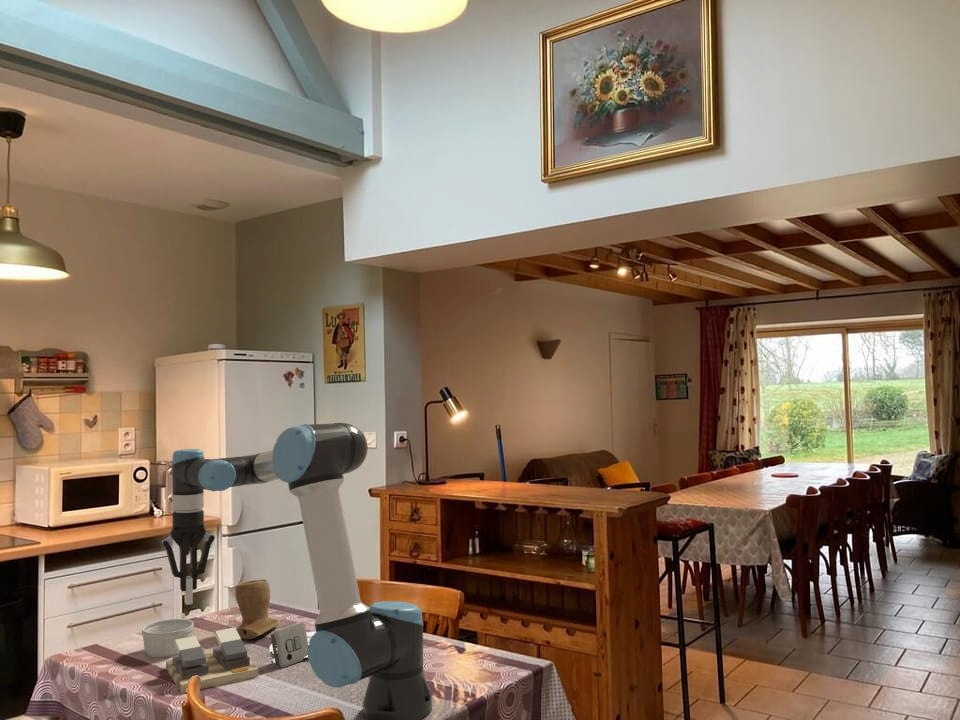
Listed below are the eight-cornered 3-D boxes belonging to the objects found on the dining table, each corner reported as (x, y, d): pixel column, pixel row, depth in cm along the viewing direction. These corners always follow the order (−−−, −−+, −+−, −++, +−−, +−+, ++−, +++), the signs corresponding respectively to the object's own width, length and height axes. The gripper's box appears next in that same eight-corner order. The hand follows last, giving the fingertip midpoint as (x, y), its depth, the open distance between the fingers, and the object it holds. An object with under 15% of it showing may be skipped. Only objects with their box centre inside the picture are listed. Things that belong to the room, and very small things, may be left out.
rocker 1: (205, 666, 191) (206, 657, 190) (184, 670, 188) (184, 661, 188) (195, 644, 201) (195, 636, 201) (174, 648, 198) (175, 639, 198)
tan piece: (249, 623, 237) (248, 574, 238) (284, 625, 234) (284, 575, 235) (221, 639, 222) (220, 586, 223) (258, 642, 220) (257, 588, 220)
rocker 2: (246, 659, 196) (247, 651, 196) (226, 663, 193) (226, 655, 193) (234, 635, 206) (235, 627, 206) (215, 639, 203) (215, 630, 203)
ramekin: (202, 643, 220) (201, 618, 220) (179, 660, 207) (179, 633, 207) (157, 643, 221) (157, 618, 221) (132, 659, 208) (132, 633, 208)
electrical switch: (282, 669, 198) (279, 631, 199) (269, 666, 201) (267, 630, 202) (311, 658, 205) (308, 622, 206) (298, 656, 209) (296, 621, 210)
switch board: (257, 676, 193) (257, 660, 193) (181, 693, 184) (181, 676, 184) (236, 654, 210) (236, 639, 210) (165, 668, 201) (165, 652, 201)
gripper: (211, 505, 206) (211, 595, 205) (158, 510, 199) (158, 603, 198) (217, 509, 199) (218, 602, 199) (163, 514, 192) (163, 611, 192)
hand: (188, 603), depth 198 cm, fingers closed
